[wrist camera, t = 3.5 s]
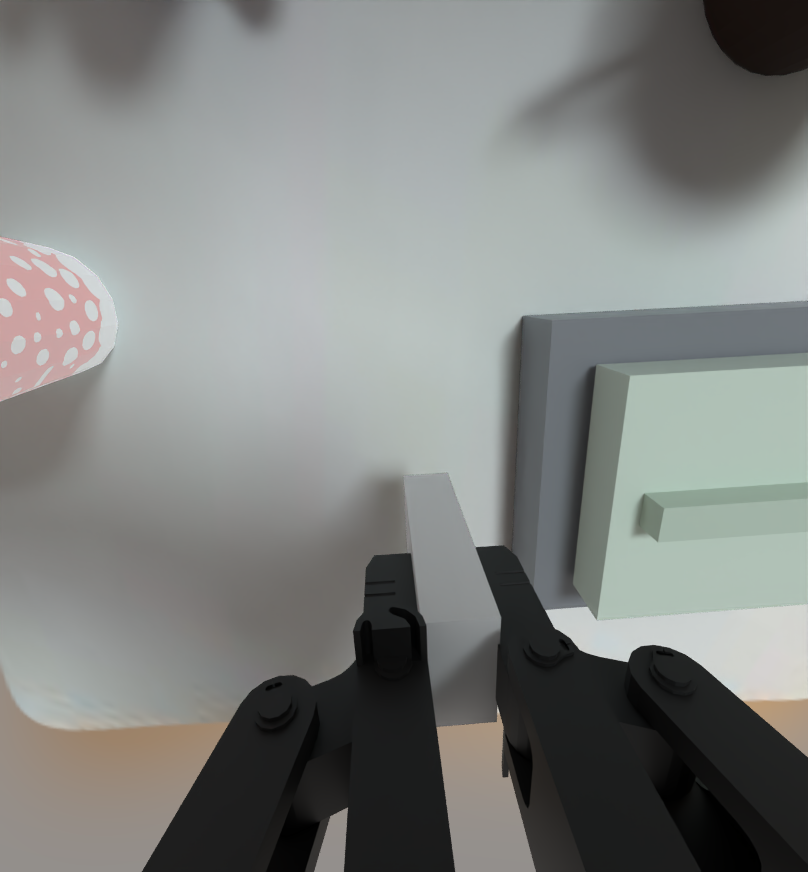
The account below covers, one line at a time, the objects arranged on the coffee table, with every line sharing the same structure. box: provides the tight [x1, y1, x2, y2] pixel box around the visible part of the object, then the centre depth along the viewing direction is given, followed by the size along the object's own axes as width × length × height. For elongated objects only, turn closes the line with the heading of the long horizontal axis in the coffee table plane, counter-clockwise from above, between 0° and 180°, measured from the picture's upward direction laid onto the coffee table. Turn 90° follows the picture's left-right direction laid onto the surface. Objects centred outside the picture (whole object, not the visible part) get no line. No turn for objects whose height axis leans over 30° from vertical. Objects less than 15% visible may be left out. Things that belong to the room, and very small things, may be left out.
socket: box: [512, 301, 808, 610], centre depth 17 cm, size 12×12×3 cm
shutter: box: [573, 353, 808, 621], centre depth 14 cm, size 9×9×3 cm
